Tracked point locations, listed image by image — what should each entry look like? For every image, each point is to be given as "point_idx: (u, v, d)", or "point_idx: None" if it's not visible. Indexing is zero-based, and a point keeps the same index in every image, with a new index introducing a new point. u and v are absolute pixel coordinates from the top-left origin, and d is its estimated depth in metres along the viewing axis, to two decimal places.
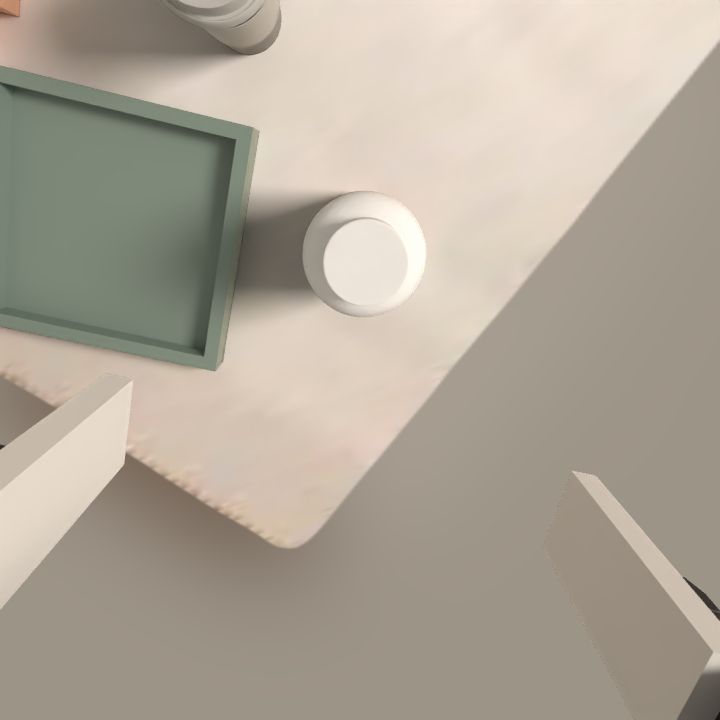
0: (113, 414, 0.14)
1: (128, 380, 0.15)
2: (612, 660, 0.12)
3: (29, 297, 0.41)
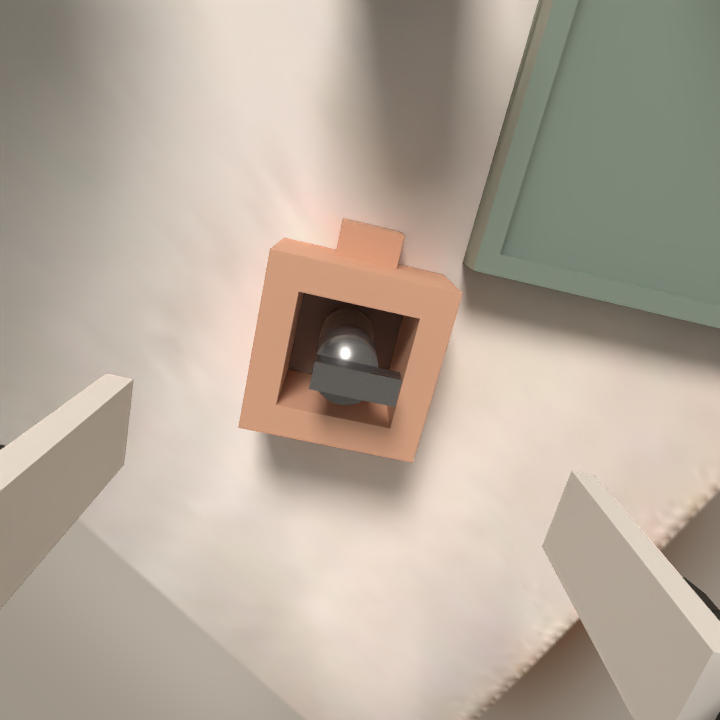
0: (113, 414, 0.14)
1: (128, 380, 0.15)
2: (612, 660, 0.12)
3: None
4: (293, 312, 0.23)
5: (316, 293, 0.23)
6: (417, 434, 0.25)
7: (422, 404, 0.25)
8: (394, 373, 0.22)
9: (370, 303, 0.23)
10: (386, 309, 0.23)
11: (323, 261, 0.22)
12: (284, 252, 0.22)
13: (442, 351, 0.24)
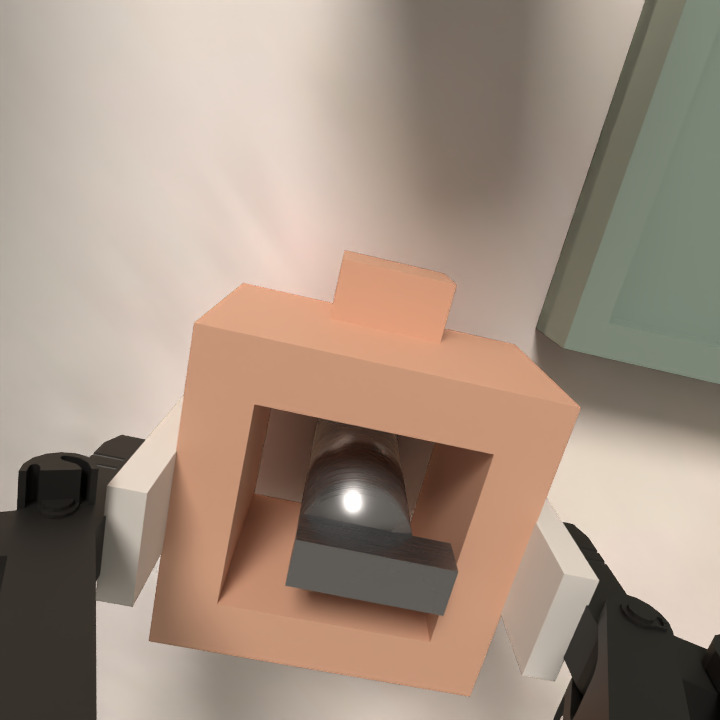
0: None
1: None
2: None
3: None
4: (245, 442, 0.12)
5: (289, 408, 0.11)
6: (480, 651, 0.14)
7: (491, 602, 0.13)
8: (442, 549, 0.12)
9: (397, 426, 0.12)
10: (428, 437, 0.12)
11: (303, 346, 0.11)
12: (224, 329, 0.11)
13: (534, 513, 0.12)
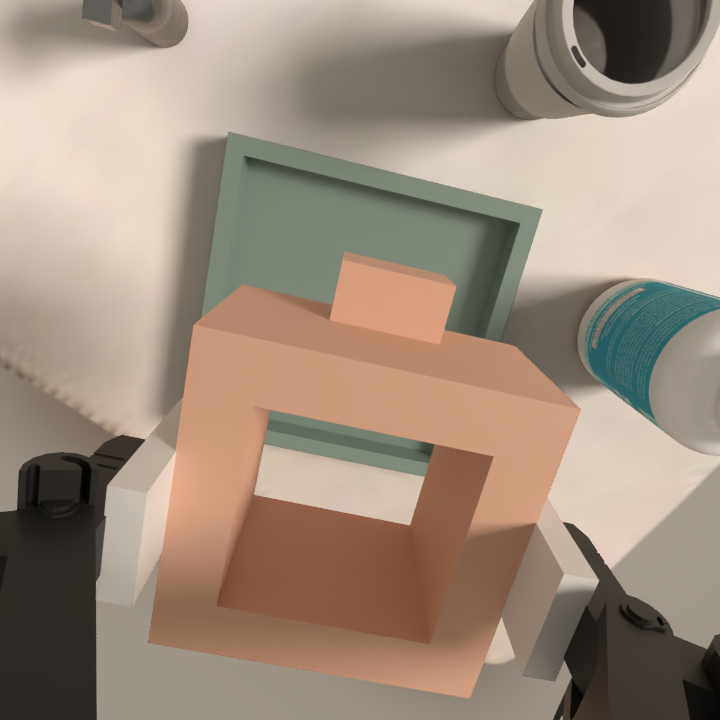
0: None
1: None
2: None
3: None
4: (244, 444, 0.12)
5: (289, 410, 0.11)
6: (480, 653, 0.14)
7: (491, 604, 0.13)
8: (117, 24, 0.24)
9: (396, 428, 0.12)
10: (428, 439, 0.12)
11: (302, 348, 0.11)
12: (223, 331, 0.11)
13: (534, 514, 0.12)
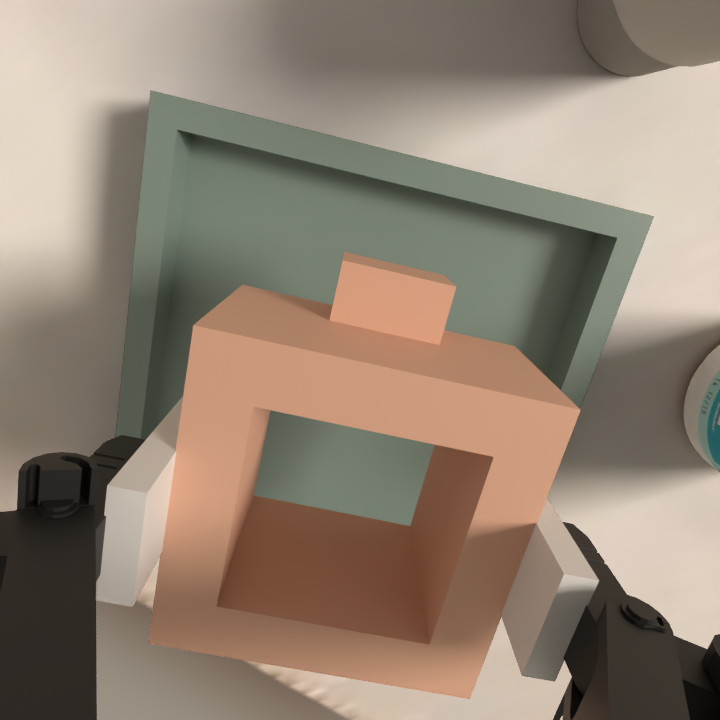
0: None
1: None
2: None
3: None
4: (244, 444, 0.12)
5: (289, 410, 0.11)
6: (479, 653, 0.14)
7: (491, 605, 0.13)
8: None
9: (396, 428, 0.12)
10: (428, 439, 0.12)
11: (302, 349, 0.11)
12: (223, 331, 0.11)
13: (534, 515, 0.12)
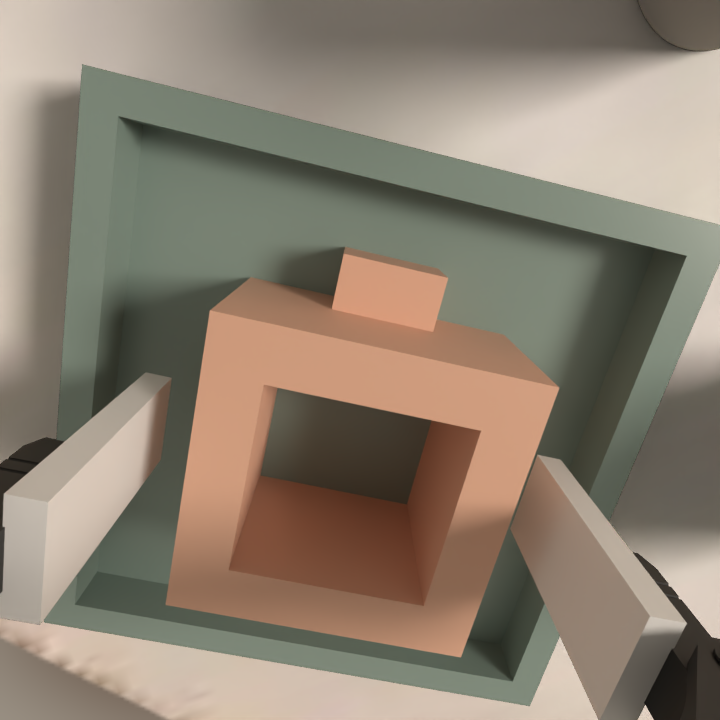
0: (155, 411, 0.14)
1: (166, 379, 0.15)
2: (566, 631, 0.13)
3: (146, 553, 0.20)
4: (255, 419, 0.13)
5: (295, 388, 0.13)
6: (470, 614, 0.15)
7: (480, 568, 0.14)
8: None
9: (393, 405, 0.13)
10: (421, 415, 0.13)
11: (308, 332, 0.12)
12: (236, 316, 0.12)
13: (518, 484, 0.13)
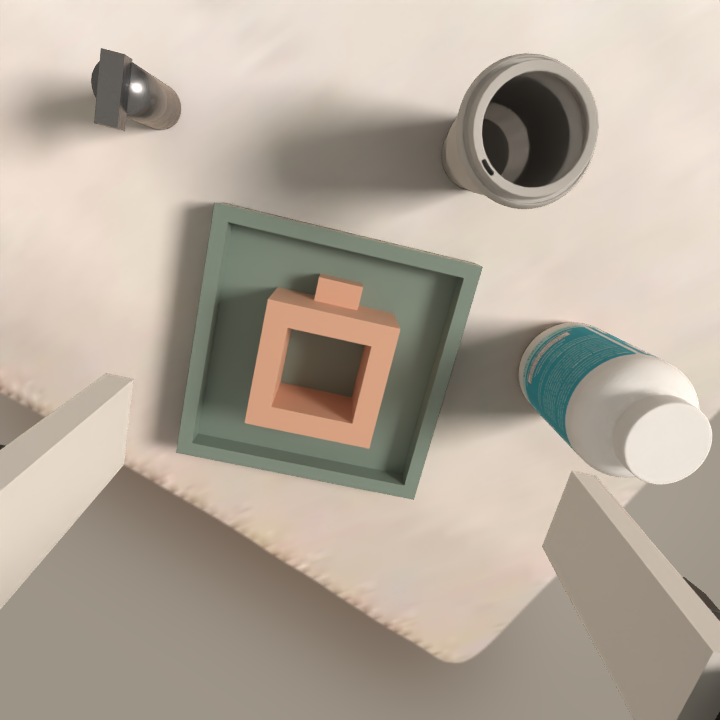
0: (113, 414, 0.14)
1: (128, 380, 0.15)
2: (612, 660, 0.12)
3: (223, 423, 0.40)
4: (283, 342, 0.33)
5: (299, 329, 0.33)
6: (372, 428, 0.35)
7: (374, 406, 0.35)
8: (123, 125, 0.29)
9: (337, 335, 0.33)
10: (348, 340, 0.33)
11: (304, 307, 0.33)
12: (277, 301, 0.33)
13: (387, 369, 0.34)
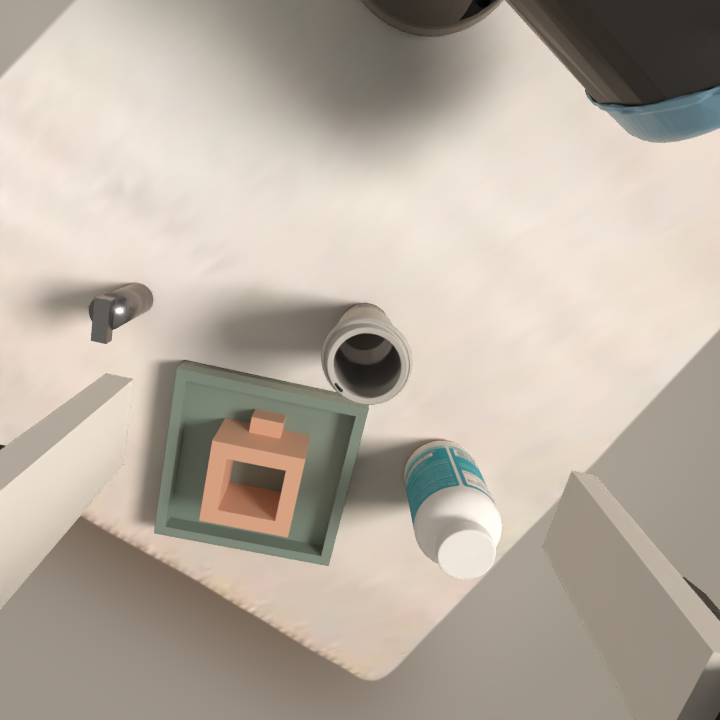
0: (113, 414, 0.14)
1: (127, 380, 0.15)
2: (612, 660, 0.12)
3: (189, 510, 0.55)
4: (224, 467, 0.48)
5: (235, 459, 0.48)
6: (289, 523, 0.50)
7: (290, 509, 0.49)
8: (110, 338, 0.43)
9: (261, 464, 0.48)
10: (269, 466, 0.48)
11: (237, 445, 0.47)
12: (219, 441, 0.47)
13: (298, 485, 0.48)
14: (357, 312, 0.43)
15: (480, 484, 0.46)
